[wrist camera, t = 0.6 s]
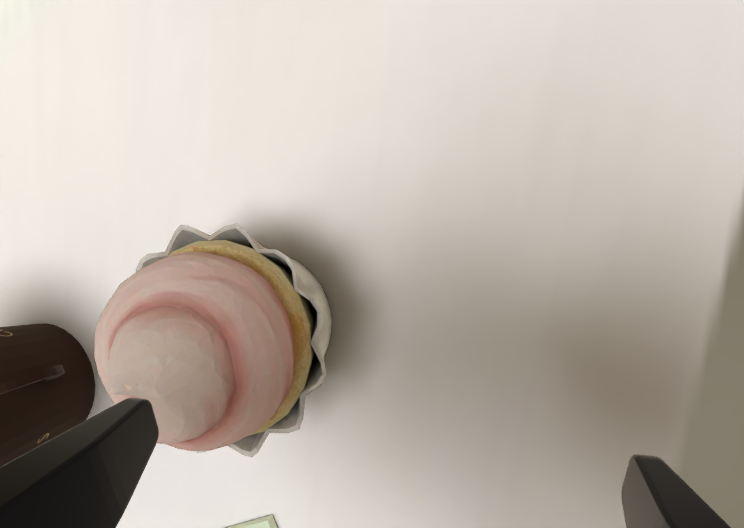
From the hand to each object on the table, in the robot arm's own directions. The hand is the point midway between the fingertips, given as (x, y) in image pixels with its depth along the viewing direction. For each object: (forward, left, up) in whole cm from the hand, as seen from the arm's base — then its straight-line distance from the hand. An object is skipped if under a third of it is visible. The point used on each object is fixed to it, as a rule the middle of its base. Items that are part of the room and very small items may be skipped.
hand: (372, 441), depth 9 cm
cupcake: (+3, +8, -13) cm, 16 cm away
